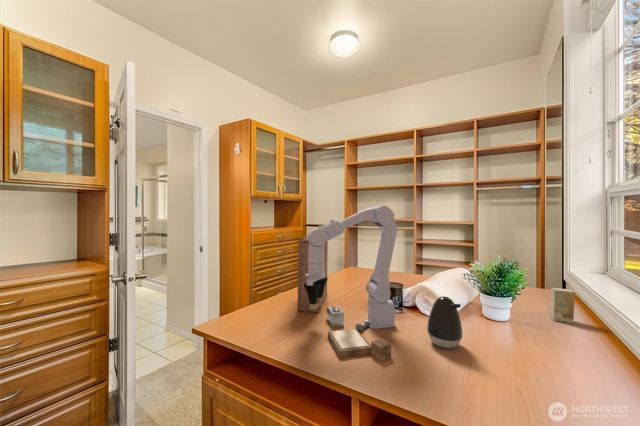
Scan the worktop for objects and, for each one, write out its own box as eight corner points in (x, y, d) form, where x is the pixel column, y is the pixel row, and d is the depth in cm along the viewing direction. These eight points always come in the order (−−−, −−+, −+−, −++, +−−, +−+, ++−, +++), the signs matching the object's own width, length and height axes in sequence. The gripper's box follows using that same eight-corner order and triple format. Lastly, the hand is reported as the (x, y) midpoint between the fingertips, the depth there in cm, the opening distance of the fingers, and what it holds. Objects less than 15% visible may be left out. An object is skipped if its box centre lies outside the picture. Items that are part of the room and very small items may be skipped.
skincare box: (553, 321, 106) (554, 289, 106) (549, 317, 110) (549, 287, 110) (574, 323, 104) (575, 291, 104) (569, 319, 108) (569, 289, 108)
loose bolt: (364, 325, 100) (364, 318, 100) (370, 326, 99) (370, 319, 99) (355, 331, 96) (355, 323, 96) (362, 332, 94) (361, 325, 94)
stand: (356, 334, 93) (356, 327, 93) (372, 354, 80) (372, 346, 80) (327, 337, 90) (327, 330, 90) (339, 358, 78) (339, 350, 78)
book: (309, 293, 139) (309, 234, 139) (327, 294, 137) (327, 235, 137) (297, 311, 114) (298, 239, 114) (319, 313, 112) (319, 240, 112)
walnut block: (380, 351, 82) (380, 338, 82) (390, 357, 79) (391, 343, 79) (371, 355, 80) (371, 341, 80) (381, 361, 76) (381, 347, 76)
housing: (337, 318, 107) (337, 304, 107) (343, 326, 100) (343, 311, 100) (326, 319, 106) (326, 305, 106) (332, 327, 99) (332, 312, 99)
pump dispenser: (448, 356, 80) (448, 304, 79) (420, 340, 89) (420, 294, 89) (470, 348, 84) (470, 299, 84) (441, 334, 93) (442, 290, 93)
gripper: (312, 258, 106) (312, 293, 106) (298, 265, 92) (298, 305, 92) (329, 259, 104) (329, 295, 104) (318, 267, 90) (318, 308, 90)
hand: (316, 300), depth 98 cm, fingers open, 7 cm apart
